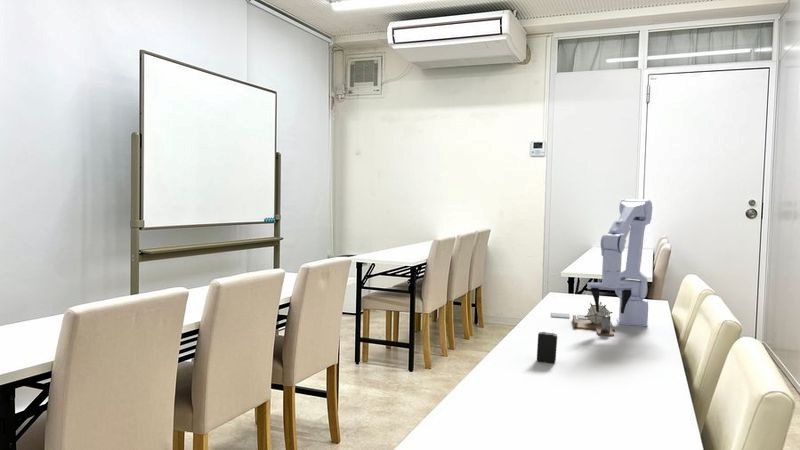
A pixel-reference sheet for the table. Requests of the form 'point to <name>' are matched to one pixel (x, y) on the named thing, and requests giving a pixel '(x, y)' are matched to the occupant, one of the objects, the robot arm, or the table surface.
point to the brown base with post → (603, 329)
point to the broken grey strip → (567, 316)
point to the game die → (597, 313)
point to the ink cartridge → (546, 347)
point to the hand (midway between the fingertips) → (609, 312)
